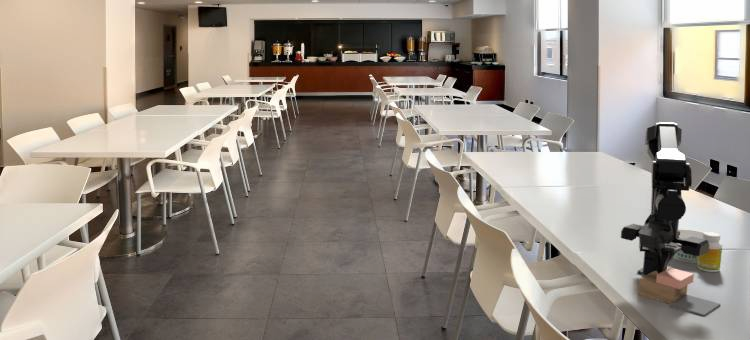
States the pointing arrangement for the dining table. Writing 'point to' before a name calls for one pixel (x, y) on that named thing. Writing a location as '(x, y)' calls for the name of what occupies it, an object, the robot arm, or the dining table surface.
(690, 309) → the mat
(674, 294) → the brown square block
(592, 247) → the dining table surface
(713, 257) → the supplement bottle
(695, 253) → the robot arm
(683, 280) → the pink block
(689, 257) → the food container
